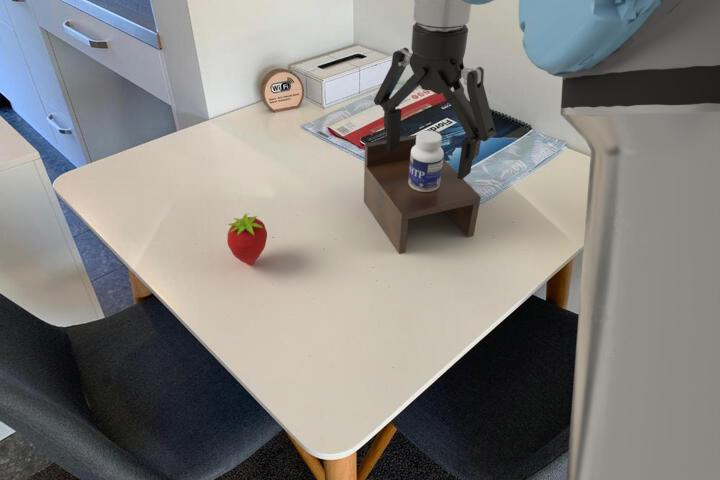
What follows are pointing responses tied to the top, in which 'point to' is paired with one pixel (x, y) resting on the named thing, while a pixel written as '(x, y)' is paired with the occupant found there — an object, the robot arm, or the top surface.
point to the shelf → (412, 192)
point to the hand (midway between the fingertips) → (426, 161)
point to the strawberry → (247, 239)
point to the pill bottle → (426, 162)
